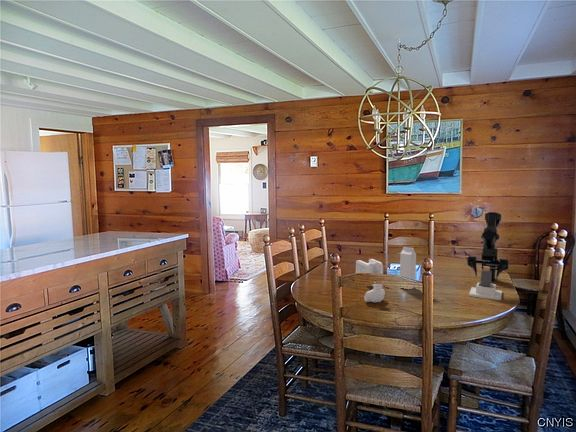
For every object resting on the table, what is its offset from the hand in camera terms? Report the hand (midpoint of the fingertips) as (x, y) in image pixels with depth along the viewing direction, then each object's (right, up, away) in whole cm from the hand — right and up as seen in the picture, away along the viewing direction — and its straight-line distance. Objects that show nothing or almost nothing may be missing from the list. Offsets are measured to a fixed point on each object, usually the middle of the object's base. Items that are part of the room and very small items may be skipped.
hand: (486, 276), depth 203 cm
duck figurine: (-57, -11, -9) cm, 59 cm away
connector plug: (0, -8, +1) cm, 8 cm away
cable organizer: (-53, -7, +28) cm, 60 cm away
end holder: (0, -9, +1) cm, 9 cm away
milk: (-35, -8, +14) cm, 39 cm away
